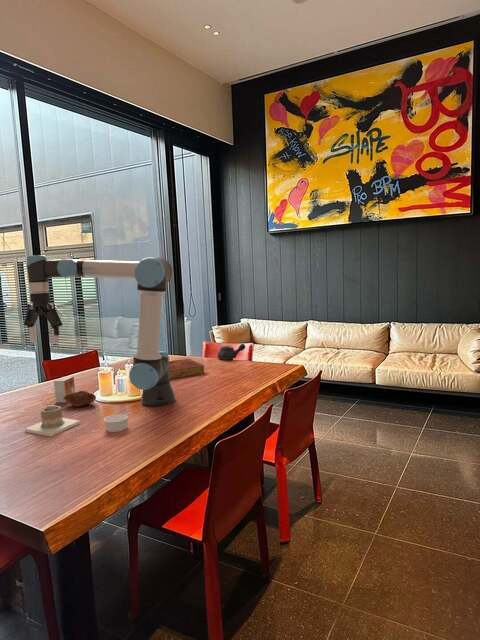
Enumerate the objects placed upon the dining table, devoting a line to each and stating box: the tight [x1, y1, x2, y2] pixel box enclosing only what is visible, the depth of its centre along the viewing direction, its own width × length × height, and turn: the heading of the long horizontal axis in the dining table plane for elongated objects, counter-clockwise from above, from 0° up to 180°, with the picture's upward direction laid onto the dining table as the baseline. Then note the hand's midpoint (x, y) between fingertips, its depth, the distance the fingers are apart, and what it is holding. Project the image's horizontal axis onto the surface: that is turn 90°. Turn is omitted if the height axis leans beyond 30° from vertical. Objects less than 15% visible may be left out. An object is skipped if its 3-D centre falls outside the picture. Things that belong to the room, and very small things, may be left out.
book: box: [169, 358, 205, 380], centre depth 246 cm, size 30×24×5 cm
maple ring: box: [40, 405, 63, 427], centre depth 167 cm, size 7×7×6 cm
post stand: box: [24, 404, 81, 438], centre depth 167 cm, size 14×14×9 cm
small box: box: [53, 376, 76, 404], centre depth 202 cm, size 8×6×10 cm
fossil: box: [63, 389, 97, 408], centre depth 192 cm, size 13×8×10 cm
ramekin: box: [103, 413, 129, 433], centre depth 163 cm, size 9×9×4 cm
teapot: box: [217, 343, 246, 361], centre depth 277 cm, size 19×15×10 cm
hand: (44, 342), depth 182 cm, fingers open, 13 cm apart
